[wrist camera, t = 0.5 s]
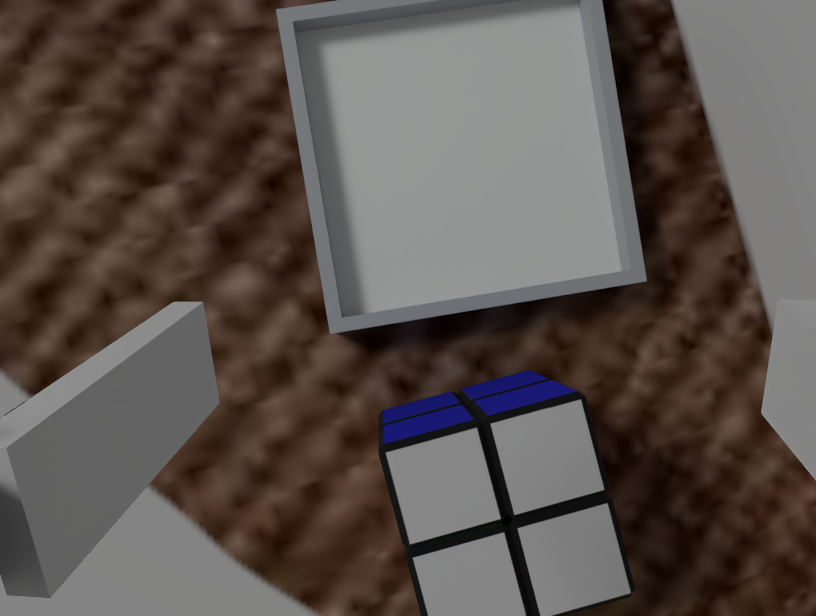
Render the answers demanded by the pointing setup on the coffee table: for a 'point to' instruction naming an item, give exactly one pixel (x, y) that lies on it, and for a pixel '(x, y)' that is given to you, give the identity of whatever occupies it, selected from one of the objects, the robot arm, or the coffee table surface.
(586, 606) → the puzzle cube
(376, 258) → the shallow square tray
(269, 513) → the coffee table surface
